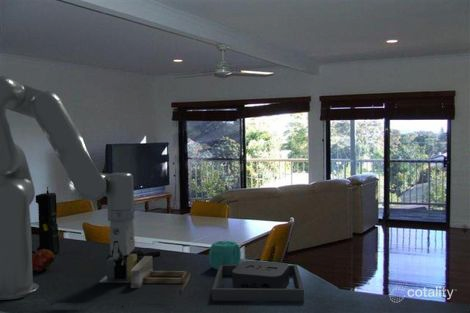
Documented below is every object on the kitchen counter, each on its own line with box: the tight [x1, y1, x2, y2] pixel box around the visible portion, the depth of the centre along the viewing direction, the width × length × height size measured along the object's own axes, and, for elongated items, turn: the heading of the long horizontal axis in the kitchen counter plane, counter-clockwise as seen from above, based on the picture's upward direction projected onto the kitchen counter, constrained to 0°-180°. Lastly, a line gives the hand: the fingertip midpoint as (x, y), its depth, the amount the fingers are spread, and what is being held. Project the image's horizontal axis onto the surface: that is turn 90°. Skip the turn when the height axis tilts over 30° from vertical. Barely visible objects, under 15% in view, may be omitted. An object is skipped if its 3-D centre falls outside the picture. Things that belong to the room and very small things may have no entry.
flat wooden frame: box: [98, 256, 191, 294], centre depth 139 cm, size 26×16×6 cm, turn 87°
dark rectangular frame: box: [211, 264, 305, 302], centre depth 135 cm, size 24×24×3 cm
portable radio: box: [35, 186, 60, 255], centre depth 175 cm, size 8×6×25 cm
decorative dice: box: [208, 240, 242, 271], centre depth 156 cm, size 8×8×8 cm
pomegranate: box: [32, 249, 56, 273], centre depth 154 cm, size 7×7×10 cm
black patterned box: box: [106, 249, 161, 264], centre depth 160 cm, size 5×20×15 cm
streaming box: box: [231, 260, 290, 289], centre depth 137 cm, size 14×14×5 cm
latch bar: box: [106, 254, 137, 281], centre depth 139 cm, size 8×4×7 cm, turn 87°
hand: (122, 276), depth 140 cm, fingers closed on latch bar, 3 cm apart
